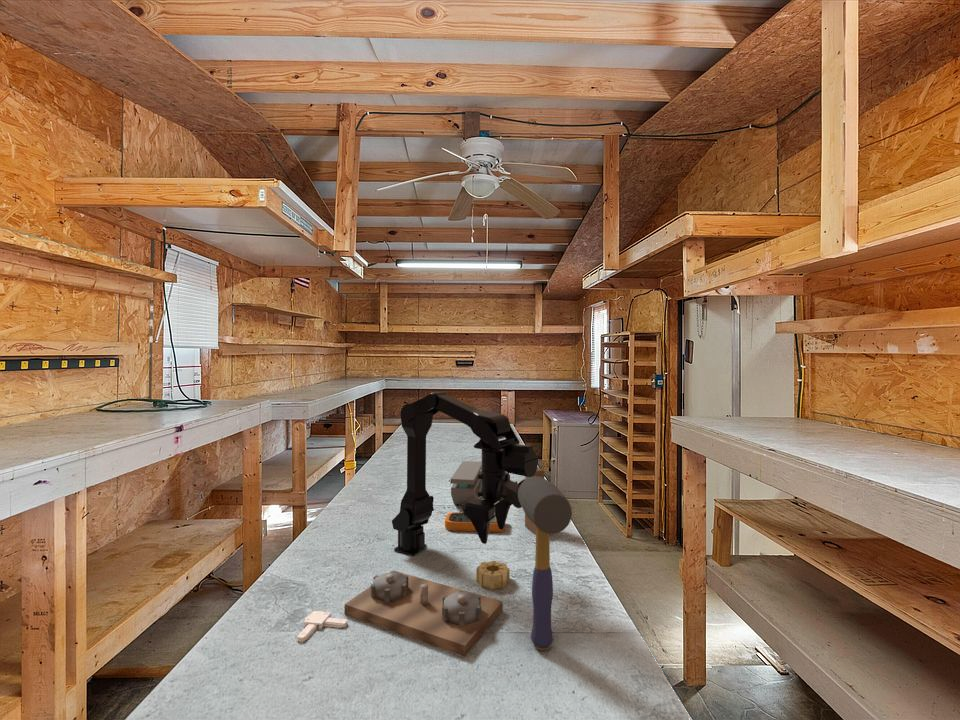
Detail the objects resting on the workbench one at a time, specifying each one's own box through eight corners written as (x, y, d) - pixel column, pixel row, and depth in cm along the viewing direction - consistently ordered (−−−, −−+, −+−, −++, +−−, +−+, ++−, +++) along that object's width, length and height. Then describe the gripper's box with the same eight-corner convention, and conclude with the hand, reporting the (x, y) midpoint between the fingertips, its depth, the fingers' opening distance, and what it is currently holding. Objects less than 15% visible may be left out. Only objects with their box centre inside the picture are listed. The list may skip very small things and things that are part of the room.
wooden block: (551, 535, 132) (552, 474, 132) (537, 537, 131) (538, 475, 131) (537, 524, 141) (538, 466, 140) (524, 526, 139) (524, 467, 139)
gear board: (344, 613, 93) (344, 587, 92) (393, 578, 107) (393, 555, 107) (464, 657, 80) (465, 626, 80) (502, 610, 94) (502, 584, 94)
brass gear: (471, 584, 104) (471, 571, 104) (485, 570, 111) (485, 558, 111) (500, 592, 101) (500, 579, 101) (514, 577, 108) (514, 565, 108)
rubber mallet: (514, 627, 88) (515, 473, 88) (551, 624, 89) (552, 472, 89) (530, 672, 76) (532, 494, 75) (573, 668, 77) (575, 492, 77)
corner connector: (330, 648, 83) (330, 639, 83) (290, 643, 84) (290, 634, 84) (350, 622, 91) (350, 614, 90) (313, 618, 92) (313, 610, 92)
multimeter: (447, 521, 144) (447, 510, 144) (504, 523, 142) (504, 512, 142) (443, 532, 135) (443, 520, 135) (504, 534, 134) (504, 522, 134)
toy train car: (473, 512, 151) (473, 479, 151) (450, 511, 152) (450, 478, 152) (482, 489, 176) (483, 461, 176) (462, 488, 177) (463, 460, 177)
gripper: (509, 484, 94) (508, 559, 94) (540, 464, 110) (539, 528, 111) (462, 477, 99) (461, 548, 99) (498, 459, 115) (497, 520, 116)
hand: (493, 535), depth 106 cm, fingers open, 9 cm apart
